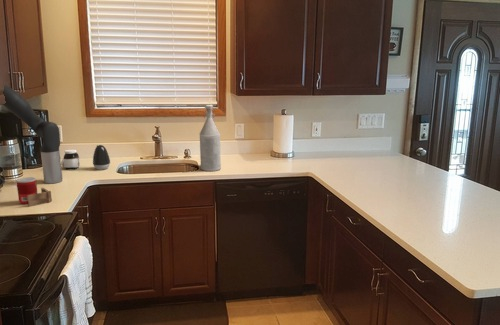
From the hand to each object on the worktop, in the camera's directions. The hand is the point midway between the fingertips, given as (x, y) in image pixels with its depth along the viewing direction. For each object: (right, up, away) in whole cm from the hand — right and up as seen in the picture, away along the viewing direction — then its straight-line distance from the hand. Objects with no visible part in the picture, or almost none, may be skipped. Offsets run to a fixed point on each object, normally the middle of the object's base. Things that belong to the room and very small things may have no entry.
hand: (3, 183), depth 192 cm
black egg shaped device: (+22, +5, +66) cm, 70 cm away
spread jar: (+1, +6, +68) cm, 69 cm away
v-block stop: (+18, -9, +2) cm, 20 cm away
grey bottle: (+90, +6, +66) cm, 112 cm away
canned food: (+11, -9, +2) cm, 14 cm away
